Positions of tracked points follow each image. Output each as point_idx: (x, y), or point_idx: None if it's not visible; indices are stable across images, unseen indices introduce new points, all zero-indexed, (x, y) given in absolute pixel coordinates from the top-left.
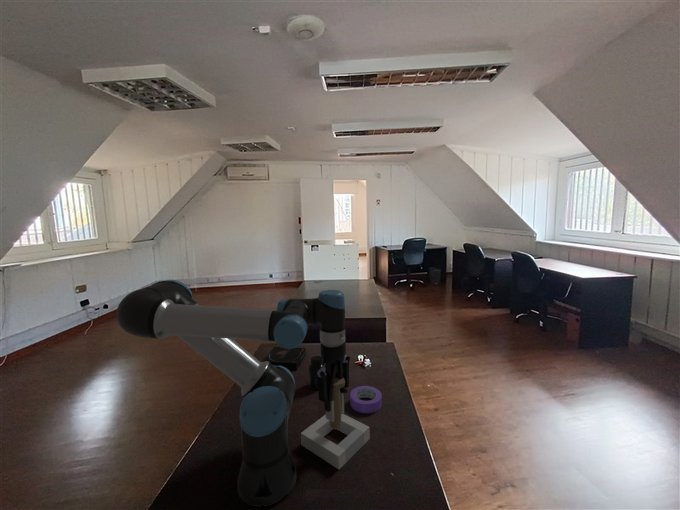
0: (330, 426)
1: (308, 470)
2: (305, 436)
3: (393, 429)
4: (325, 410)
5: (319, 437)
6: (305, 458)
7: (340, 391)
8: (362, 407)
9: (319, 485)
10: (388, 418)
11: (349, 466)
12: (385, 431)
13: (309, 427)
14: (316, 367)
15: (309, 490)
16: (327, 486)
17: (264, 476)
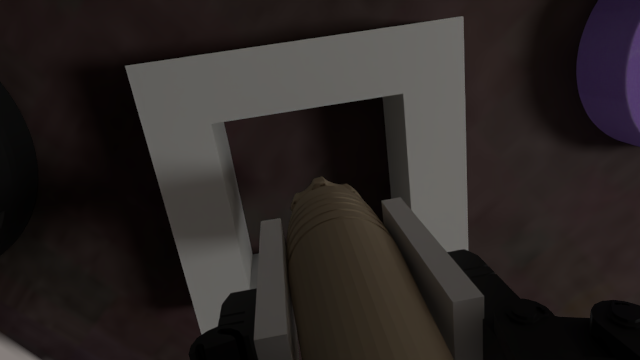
0: (292, 201)
1: (98, 226)
2: (139, 112)
3: (557, 285)
4: (230, 299)
5: (205, 184)
6: (122, 158)
7: (487, 354)
8: (608, 105)
9: (100, 312)
10: (613, 224)
11: None
12: (525, 273)
13: (205, 62)
14: None
15: (51, 307)
16: (126, 333)
17: None
